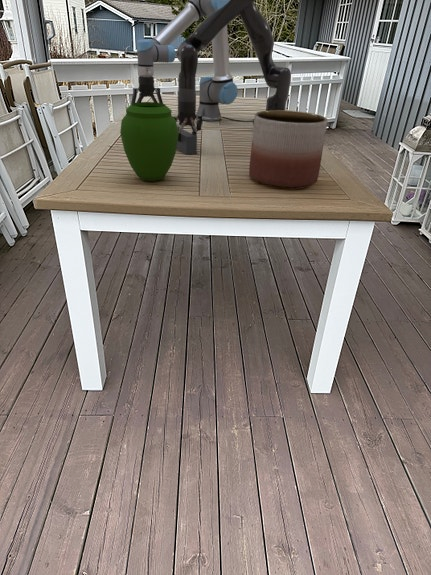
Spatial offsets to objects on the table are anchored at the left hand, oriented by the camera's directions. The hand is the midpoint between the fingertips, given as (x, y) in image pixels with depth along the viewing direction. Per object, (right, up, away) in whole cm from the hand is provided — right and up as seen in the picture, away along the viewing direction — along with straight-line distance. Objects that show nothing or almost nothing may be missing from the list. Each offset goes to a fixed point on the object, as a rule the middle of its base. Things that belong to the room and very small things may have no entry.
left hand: (148, 123), depth 214 cm
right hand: (+23, -22, -36) cm, 48 cm away
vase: (+12, -47, -68) cm, 83 cm away
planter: (+60, -46, -62) cm, 98 cm away
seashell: (+61, +3, +16) cm, 63 cm away
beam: (+12, -14, -16) cm, 24 cm away
